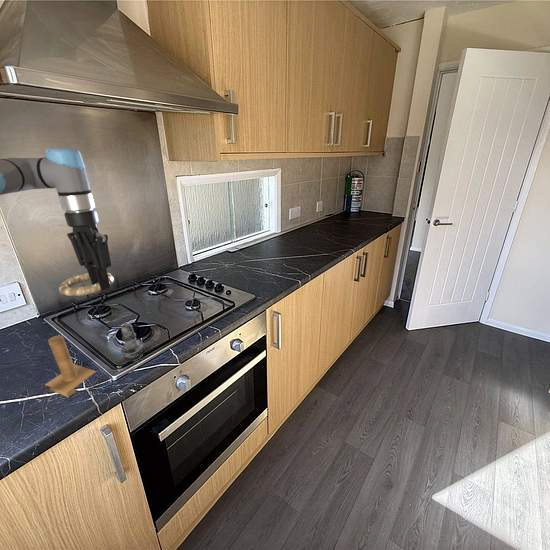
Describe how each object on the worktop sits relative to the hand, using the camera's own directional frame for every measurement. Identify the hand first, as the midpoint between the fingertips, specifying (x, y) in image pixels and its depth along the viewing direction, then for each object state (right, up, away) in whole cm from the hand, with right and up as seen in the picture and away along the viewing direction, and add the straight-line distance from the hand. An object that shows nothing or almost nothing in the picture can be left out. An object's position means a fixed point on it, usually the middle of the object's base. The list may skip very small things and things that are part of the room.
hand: (102, 288), depth 89 cm
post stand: (0, -24, -13) cm, 27 cm away
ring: (-6, +1, +2) cm, 6 cm away
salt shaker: (+12, -20, -4) cm, 24 cm away
